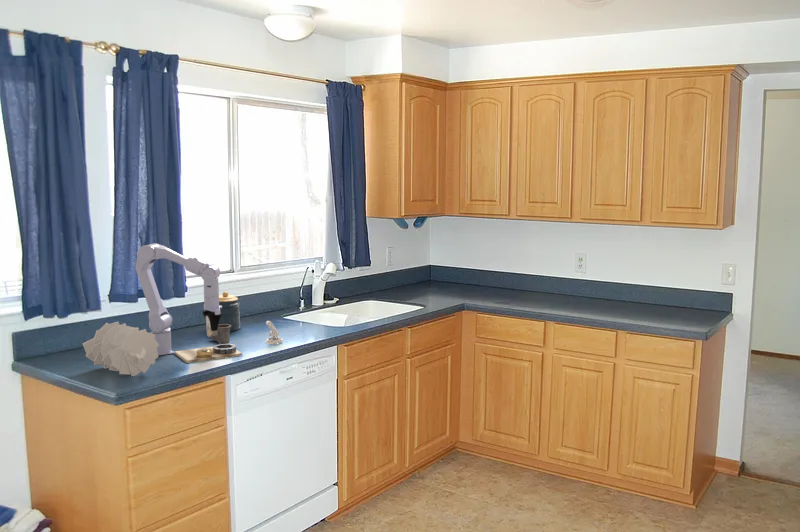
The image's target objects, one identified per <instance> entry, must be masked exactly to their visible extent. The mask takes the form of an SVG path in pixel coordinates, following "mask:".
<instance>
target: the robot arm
mask: <svg viewBox="0 0 800 532" xmlns="http://www.w3.org/2000/svg"><path fill="white" fill-rule="evenodd" d="M160 259H161V260H163V259H165V260H168V261H171V262H174V263H176V264H179V265H180V266H183V267H184V269H185V271H187V272H190V273H192V274H194V275H196V276H199V277H201V279H202V280H203V302H204V304H203V310H202V311H201V313H202V315H203V318H204V320H205V321H206V315H207V316H208V318H209V321H210V326H211V330H212V331H217V329H218V324H219V320H220V318H221V316H222V313H220V308H222V306H219V296H220V287H219V286H220V285H219V277H220V275H221V269H220V268H219V267H218V266H217V265H216V264H210V263H209V262H204V261H202V260H200V259H199V257H197V256H193V257H192V256H191V257H186V256H184V255H183V254H180V253H178V252H177V251H174V250H172V249H170V248H168V247H167V246H165V245H163V244H159V243H157V242H153V243H150V244H145V245H144V244H143V245H142V246H141V247H140V248H139V249H138V250H137V252H136V262H135V271H136V275H137V278H138V280H139V283H140V287H141V288H142V292H143V295H144V297H145V301H146V303H147V306H148V309H149V312H148V321H149V322H148V326H149V329H150V330H151V331H150V332H149V333H152V334H155V337H154V339H155V340H156V341H157V342H158V344H159V346H158V347H157V352H158V356H165V355H172V354H175V351H174V350H172V331H171V330H172V329H171V326H172V325H173V322H174V321H173V320H174V319H173V317H172V315H171V313H169V312H168V309H167V307H165V306H164V305H163V302H162V298H161V296H160V293H159V289H158V286H157V284H156V281H155V278H154V275H153V271H152V267H153V265H154V264H155V262H156V261H158V260H160Z"/></svg>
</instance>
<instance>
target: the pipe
mask: <svg viewBox="0 0 800 532" xmlns="http://www.w3.org/2000/svg"><path fill="white" fill-rule="evenodd" d="M230 328H231V325H229V324H220V325H218V329H217V335H216V336H208V338H209V339H211V340H212V341H215V342H217V343H218V344H230V341H231V340H230V338H231V337H230V336H231V335H230V334H231V331H230Z"/></svg>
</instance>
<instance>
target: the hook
mask: <svg viewBox="0 0 800 532" xmlns="http://www.w3.org/2000/svg"><path fill="white" fill-rule="evenodd" d="M265 324H266V326H267V327H268V329H270V330H269V331H270V332H269V336H270V337H268V338H266V340H265V343H266V344H267V343H268V344H267V345H278V344H277V343H281V344H283V343H284V339H283V338H282V337H279V331H278V329H276V327H275V326H274V324H273V322H272V321H271V320H267V321H266V322H265ZM282 342H283V343H282Z"/></svg>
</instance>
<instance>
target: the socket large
mask: <svg viewBox="0 0 800 532" xmlns="http://www.w3.org/2000/svg"><path fill="white" fill-rule="evenodd" d="M212 347H213V353H215V354H231V353H234V352H236V350H237V345H236V344H235V343H234V344H233V343H228V344H219V343H218V344H215V345H213V346H212Z"/></svg>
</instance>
